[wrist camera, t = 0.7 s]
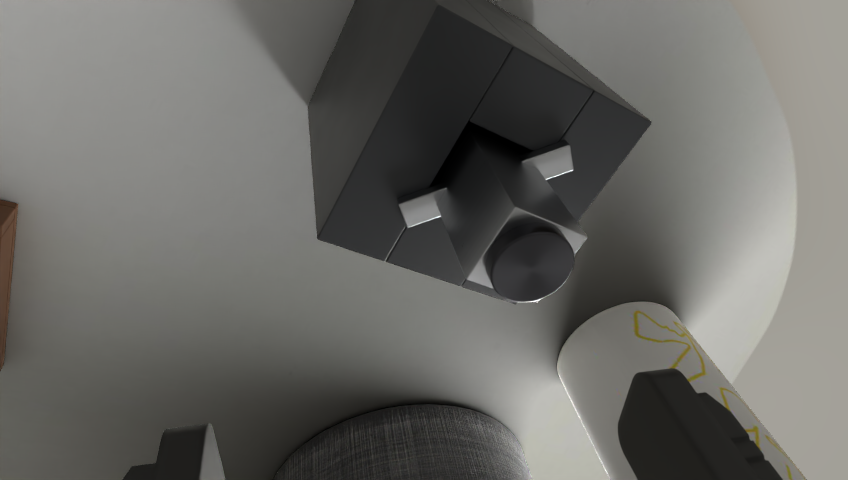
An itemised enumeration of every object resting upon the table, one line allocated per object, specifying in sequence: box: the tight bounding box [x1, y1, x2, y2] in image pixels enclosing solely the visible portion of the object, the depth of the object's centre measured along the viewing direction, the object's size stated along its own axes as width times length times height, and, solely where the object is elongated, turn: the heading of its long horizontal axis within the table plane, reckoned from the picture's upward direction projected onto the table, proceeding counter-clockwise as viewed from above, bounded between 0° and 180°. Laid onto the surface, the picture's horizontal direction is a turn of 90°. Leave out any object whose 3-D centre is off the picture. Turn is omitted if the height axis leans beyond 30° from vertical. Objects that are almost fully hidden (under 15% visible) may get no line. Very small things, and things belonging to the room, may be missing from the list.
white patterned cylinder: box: [557, 302, 807, 480], centre depth 46 cm, size 12×12×17 cm
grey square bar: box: [397, 121, 588, 303], centre depth 25 cm, size 6×6×15 cm
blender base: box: [308, 0, 652, 304], centre depth 29 cm, size 10×10×14 cm
